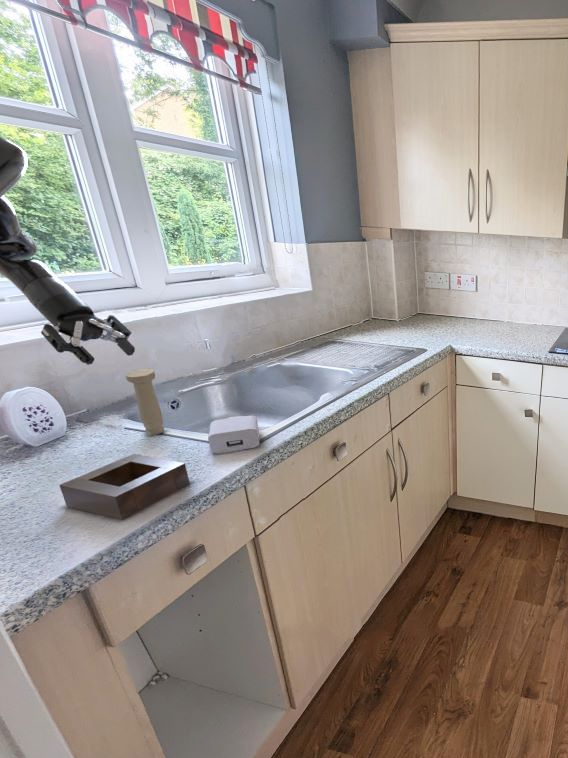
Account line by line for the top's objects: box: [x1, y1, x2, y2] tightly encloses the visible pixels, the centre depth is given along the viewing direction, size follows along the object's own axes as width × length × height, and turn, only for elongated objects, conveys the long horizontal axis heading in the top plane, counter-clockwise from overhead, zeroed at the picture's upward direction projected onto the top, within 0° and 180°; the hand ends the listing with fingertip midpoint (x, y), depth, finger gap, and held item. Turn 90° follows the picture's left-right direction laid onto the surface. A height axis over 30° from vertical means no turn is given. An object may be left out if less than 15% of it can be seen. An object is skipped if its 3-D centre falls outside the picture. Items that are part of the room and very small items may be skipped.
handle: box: [125, 368, 165, 436], centre depth 105 cm, size 5×6×15 cm
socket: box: [58, 453, 191, 521], centre depth 83 cm, size 12×12×4 cm
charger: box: [207, 415, 260, 454], centre depth 107 cm, size 5×9×15 cm
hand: (112, 357), depth 103 cm, fingers open, 8 cm apart
